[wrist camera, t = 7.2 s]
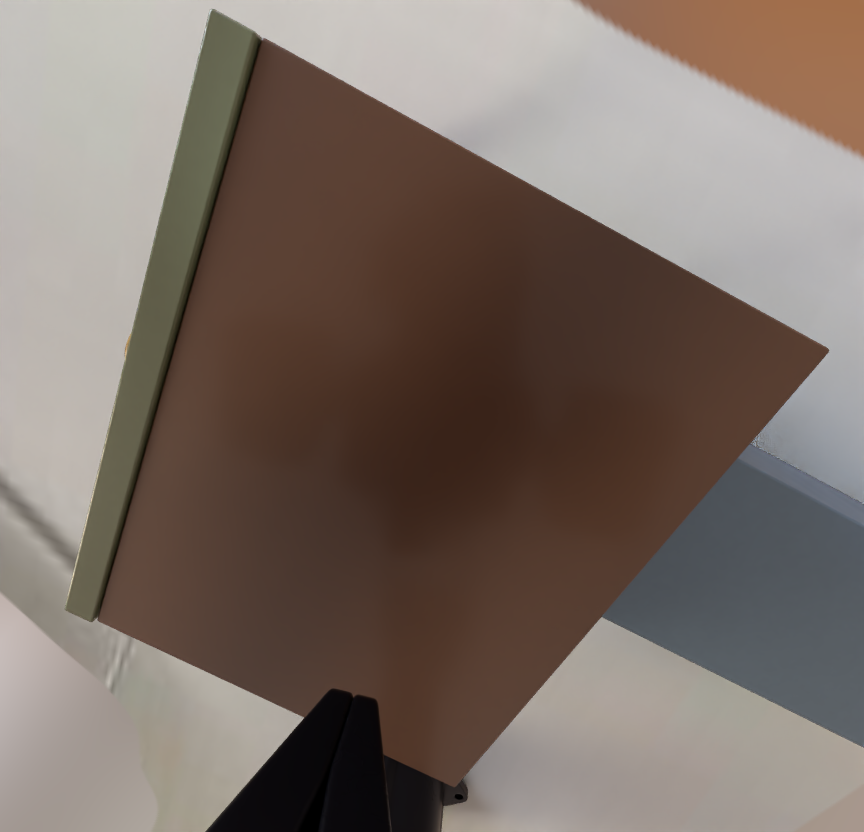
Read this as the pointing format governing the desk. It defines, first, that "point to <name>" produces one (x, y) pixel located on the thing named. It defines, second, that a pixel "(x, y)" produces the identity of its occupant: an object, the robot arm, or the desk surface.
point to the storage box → (764, 591)
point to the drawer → (164, 294)
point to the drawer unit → (420, 423)
